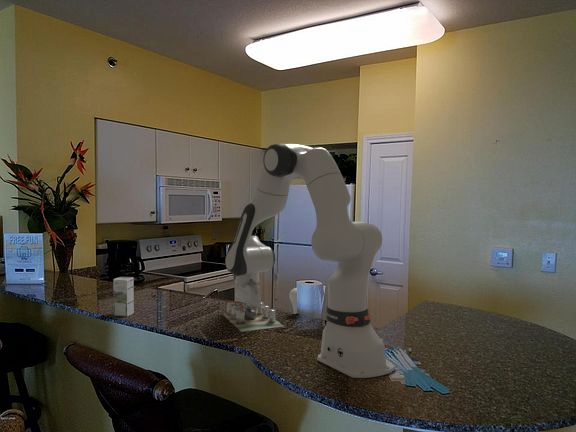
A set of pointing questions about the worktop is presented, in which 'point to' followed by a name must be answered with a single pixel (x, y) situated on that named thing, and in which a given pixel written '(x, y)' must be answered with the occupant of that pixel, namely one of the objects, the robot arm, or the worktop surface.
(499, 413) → the worktop surface
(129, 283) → the syrup box
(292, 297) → the lightbulb
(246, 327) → the board
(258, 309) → the spacers
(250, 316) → the dark metal plug
